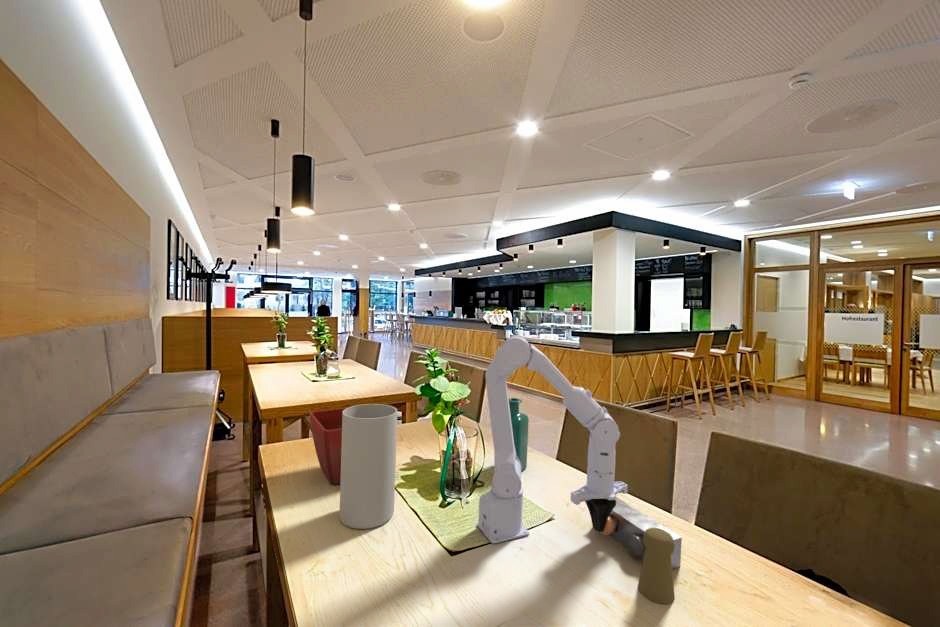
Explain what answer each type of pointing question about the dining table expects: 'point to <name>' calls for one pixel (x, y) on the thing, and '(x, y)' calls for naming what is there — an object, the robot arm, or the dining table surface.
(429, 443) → the dining table surface
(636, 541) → the gray knob
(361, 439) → the cylinder vase
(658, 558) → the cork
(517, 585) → the dining table surface
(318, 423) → the plant pot
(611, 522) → the terracotta knob
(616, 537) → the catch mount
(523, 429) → the green bottle
